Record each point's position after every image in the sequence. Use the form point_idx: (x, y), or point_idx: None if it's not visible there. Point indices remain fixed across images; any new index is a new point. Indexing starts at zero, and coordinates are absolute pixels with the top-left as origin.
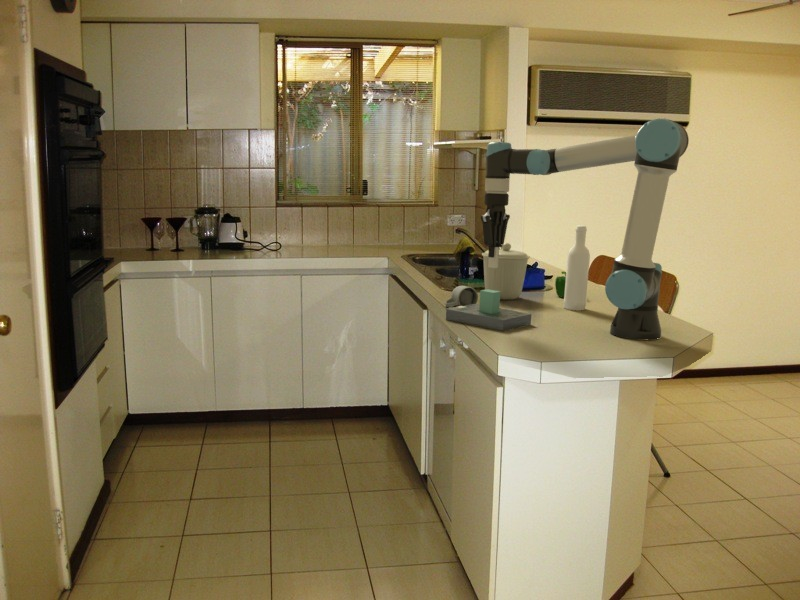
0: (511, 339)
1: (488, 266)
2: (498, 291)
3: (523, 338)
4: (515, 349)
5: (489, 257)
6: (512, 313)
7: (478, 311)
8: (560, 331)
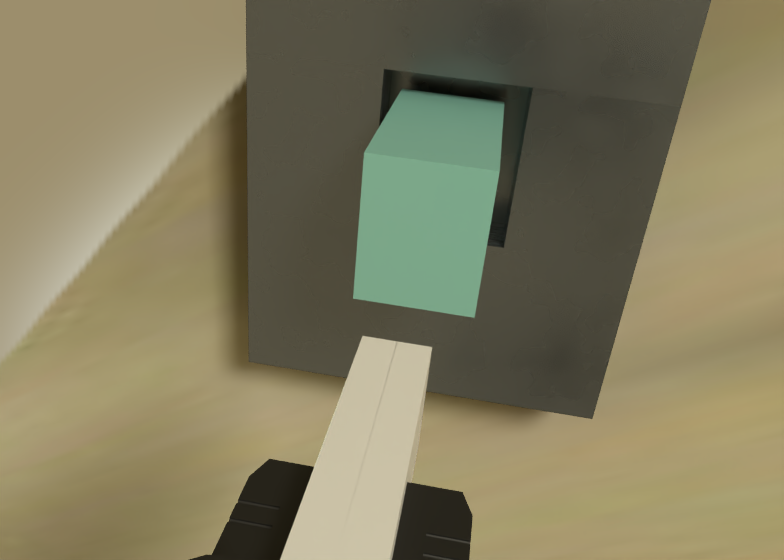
0: (148, 420)
1: (361, 345)
2: (461, 304)
3: (218, 452)
4: (11, 488)
5: (325, 445)
6: (510, 322)
7: (375, 103)
8: (527, 532)
